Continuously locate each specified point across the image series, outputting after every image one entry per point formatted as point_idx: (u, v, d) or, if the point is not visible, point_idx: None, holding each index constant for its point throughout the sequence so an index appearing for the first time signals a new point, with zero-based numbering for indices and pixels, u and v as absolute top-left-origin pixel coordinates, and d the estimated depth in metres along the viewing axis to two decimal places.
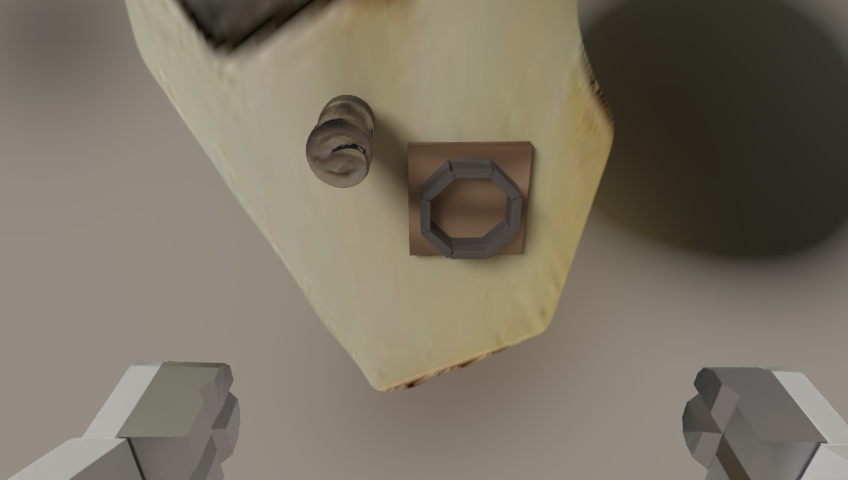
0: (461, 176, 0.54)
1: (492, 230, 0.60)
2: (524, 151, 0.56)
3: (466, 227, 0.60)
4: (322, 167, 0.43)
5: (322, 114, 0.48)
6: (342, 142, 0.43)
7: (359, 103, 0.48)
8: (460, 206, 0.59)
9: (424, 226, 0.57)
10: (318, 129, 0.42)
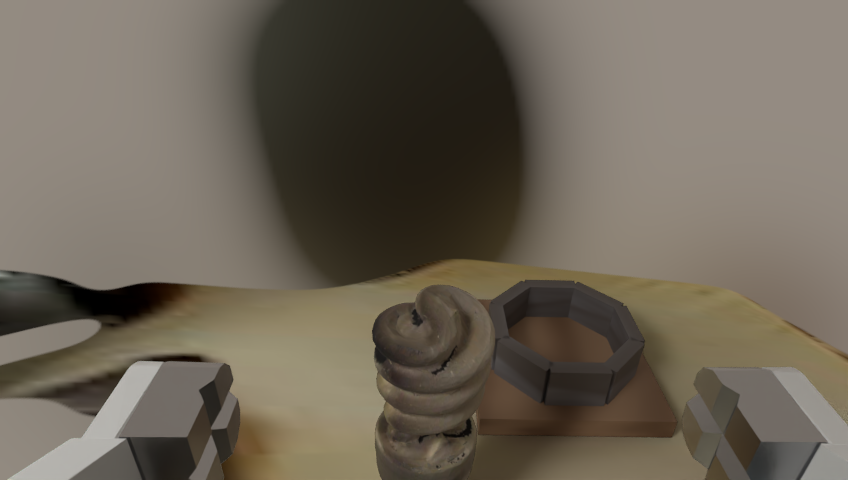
0: (505, 329, 0.38)
1: (590, 325, 0.43)
2: None
3: (597, 353, 0.41)
4: (447, 328, 0.23)
5: (396, 460, 0.26)
6: (408, 322, 0.25)
7: None
8: (564, 359, 0.40)
9: (599, 369, 0.35)
10: (380, 342, 0.23)
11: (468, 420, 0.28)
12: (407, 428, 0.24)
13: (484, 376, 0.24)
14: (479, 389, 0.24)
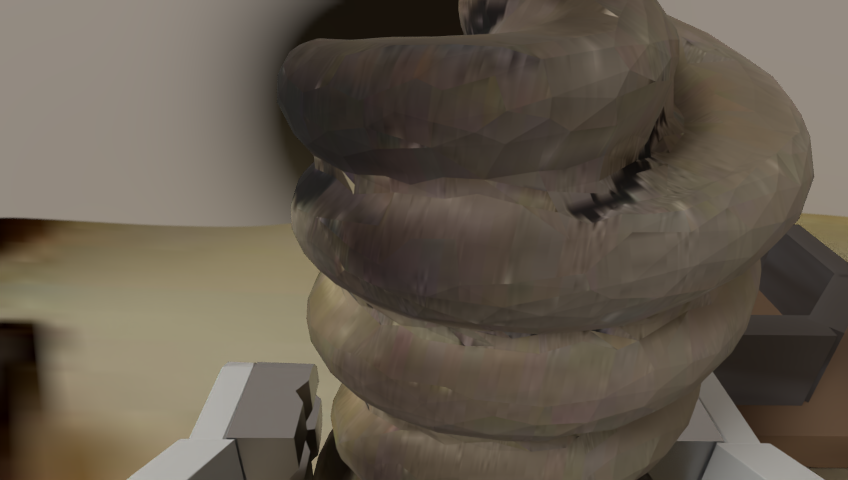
0: None
1: None
2: None
3: None
4: None
5: None
6: None
7: None
8: None
9: (805, 327, 0.17)
10: (298, 75, 0.05)
11: None
12: None
13: (757, 274, 0.06)
14: (744, 327, 0.05)
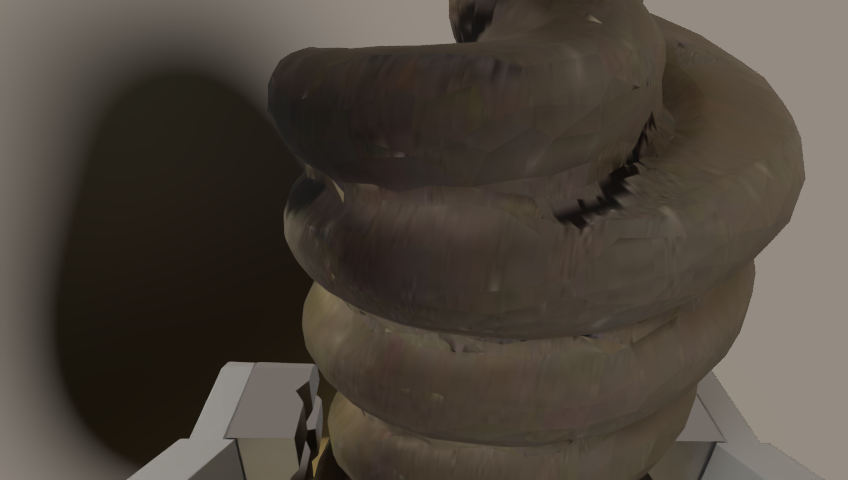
0: None
1: None
2: None
3: None
4: None
5: None
6: None
7: None
8: None
9: None
10: (286, 85, 0.05)
11: None
12: None
13: (750, 276, 0.06)
14: (738, 330, 0.05)
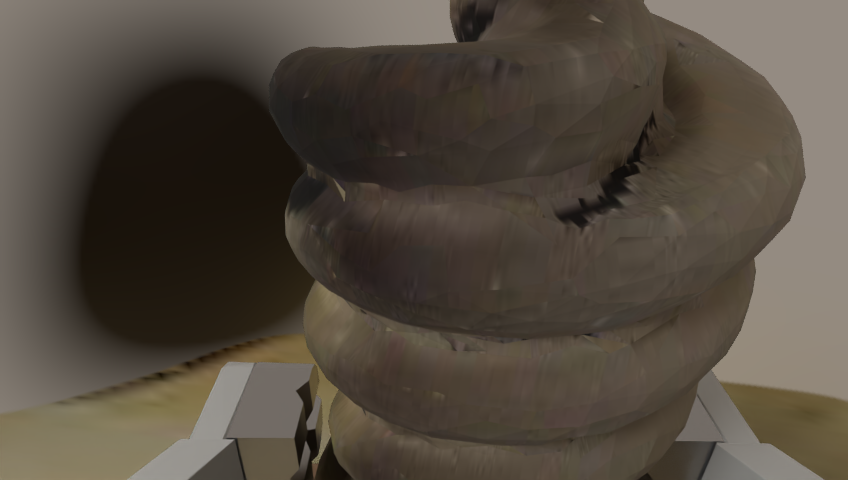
0: None
1: None
2: None
3: None
4: None
5: None
6: None
7: None
8: None
9: None
10: (287, 84, 0.05)
11: None
12: None
13: (751, 275, 0.06)
14: (738, 329, 0.05)
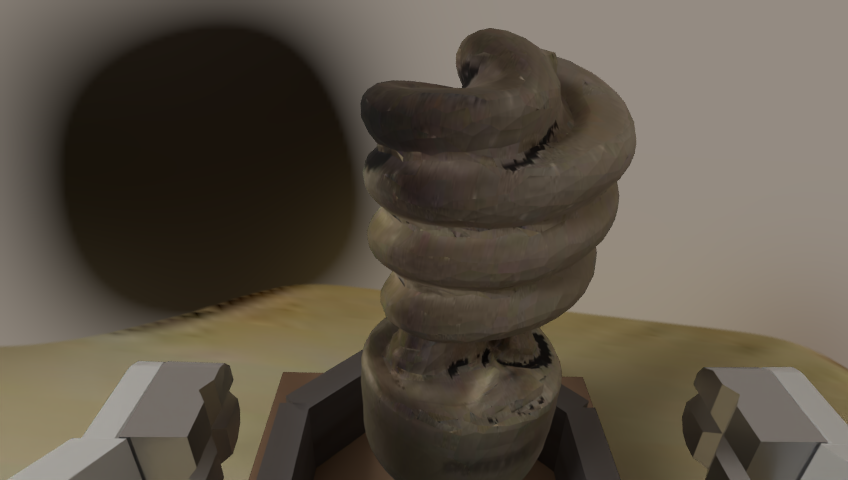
0: None
1: None
2: (292, 386, 0.22)
3: None
4: (541, 67, 0.09)
5: (404, 405, 0.12)
6: None
7: None
8: None
9: None
10: (377, 104, 0.10)
11: (542, 342, 0.15)
12: (435, 323, 0.11)
13: (612, 207, 0.11)
14: (602, 233, 0.10)
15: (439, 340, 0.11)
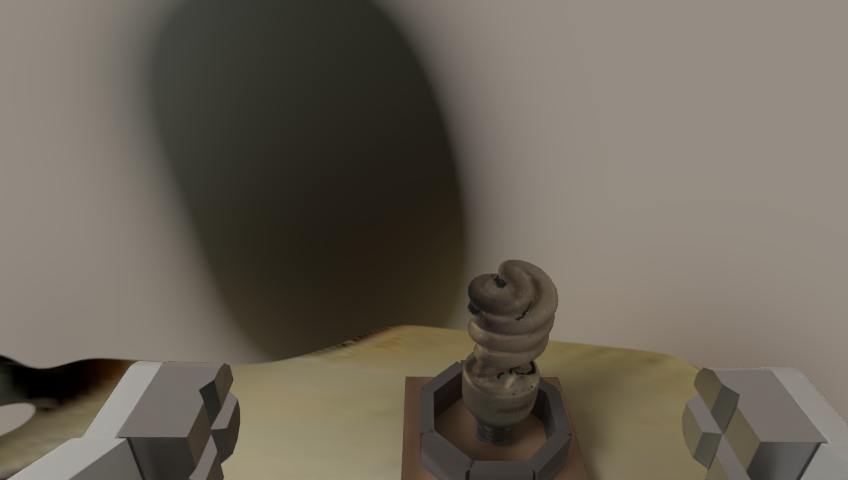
0: (431, 422, 0.38)
1: None
2: (412, 383, 0.45)
3: (530, 440, 0.40)
4: (526, 287, 0.32)
5: (482, 389, 0.35)
6: (493, 286, 0.34)
7: None
8: (495, 448, 0.39)
9: (520, 469, 0.34)
10: (477, 298, 0.32)
11: (532, 364, 0.37)
12: (495, 362, 0.33)
13: (550, 324, 0.33)
14: (547, 333, 0.33)
15: (496, 367, 0.33)
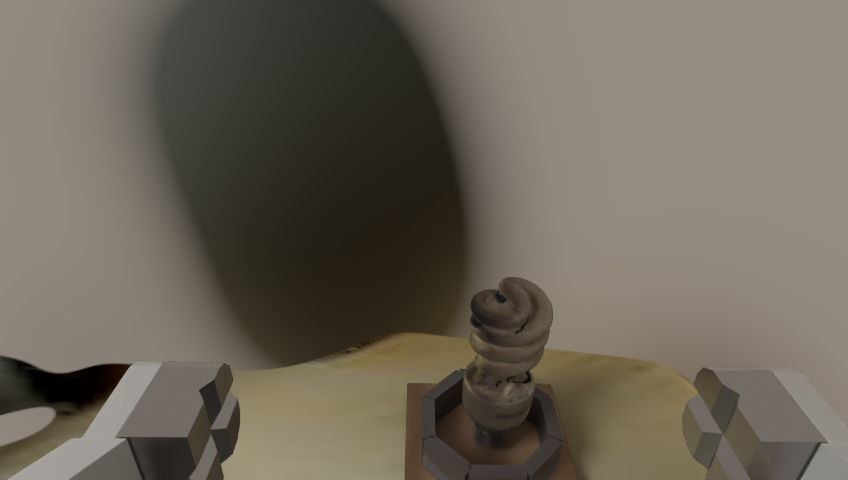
0: (432, 428, 0.40)
1: None
2: (413, 390, 0.48)
3: (524, 444, 0.43)
4: (524, 303, 0.35)
5: (482, 397, 0.38)
6: (494, 301, 0.37)
7: None
8: (492, 452, 0.42)
9: (515, 472, 0.37)
10: (479, 313, 0.35)
11: (528, 373, 0.40)
12: (494, 372, 0.36)
13: (546, 337, 0.36)
14: (543, 345, 0.36)
15: (495, 376, 0.36)
